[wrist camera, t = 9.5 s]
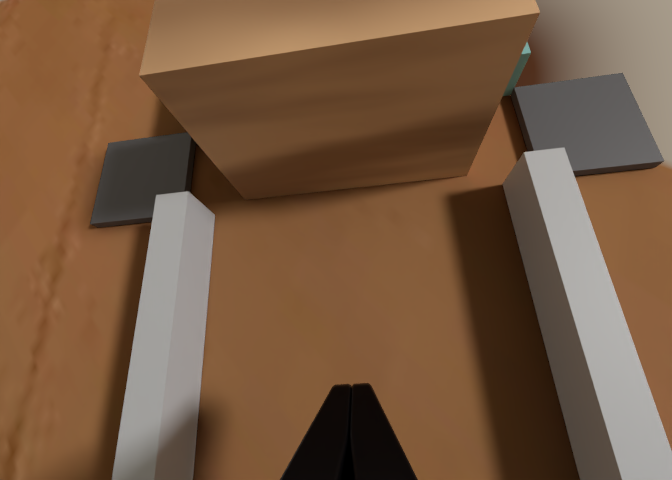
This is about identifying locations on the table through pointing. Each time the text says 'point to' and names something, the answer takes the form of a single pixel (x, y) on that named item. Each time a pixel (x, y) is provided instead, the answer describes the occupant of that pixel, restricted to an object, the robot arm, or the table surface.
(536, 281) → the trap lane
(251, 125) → the step block
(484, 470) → the table surface
